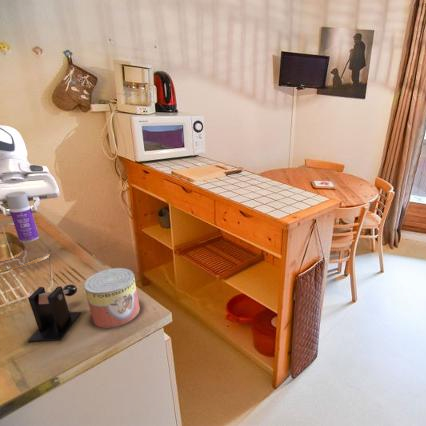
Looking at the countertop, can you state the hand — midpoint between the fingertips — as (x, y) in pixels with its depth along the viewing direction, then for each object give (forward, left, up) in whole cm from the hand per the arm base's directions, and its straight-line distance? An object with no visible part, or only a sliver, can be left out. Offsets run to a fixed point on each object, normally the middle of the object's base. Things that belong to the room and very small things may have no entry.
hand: (21, 213), depth 96 cm
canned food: (+40, -4, -21) cm, 45 cm away
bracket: (+31, -14, -21) cm, 40 cm away
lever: (+29, -11, -14) cm, 34 cm away
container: (-1, 0, -9) cm, 9 cm away
